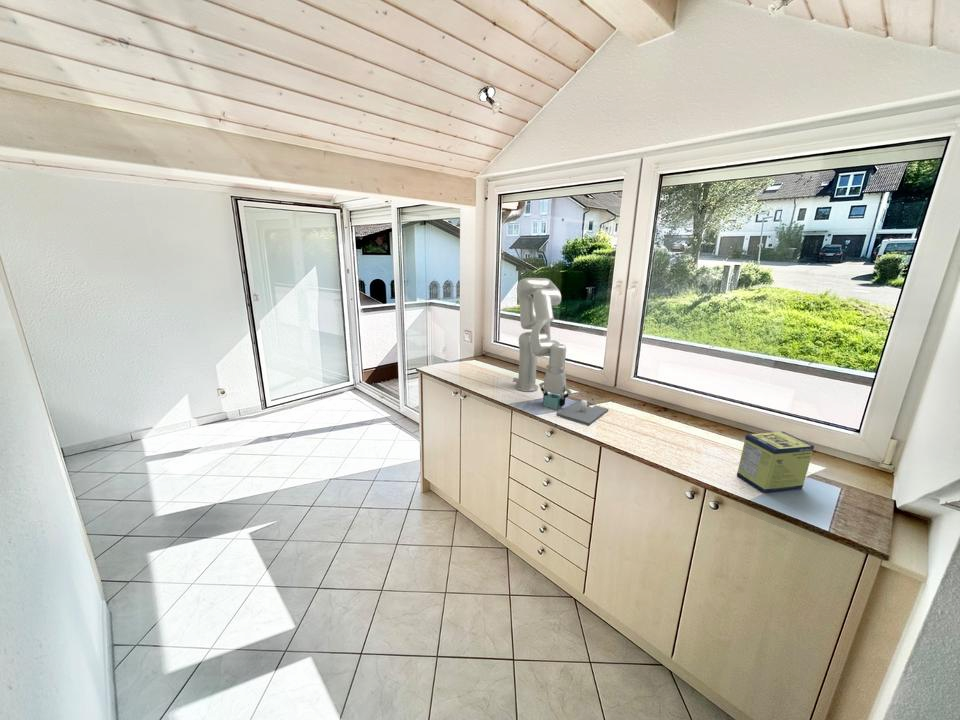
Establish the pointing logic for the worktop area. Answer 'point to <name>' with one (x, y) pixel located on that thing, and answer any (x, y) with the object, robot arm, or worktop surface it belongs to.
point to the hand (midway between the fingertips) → (553, 403)
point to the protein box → (774, 461)
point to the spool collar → (552, 400)
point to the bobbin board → (582, 412)
